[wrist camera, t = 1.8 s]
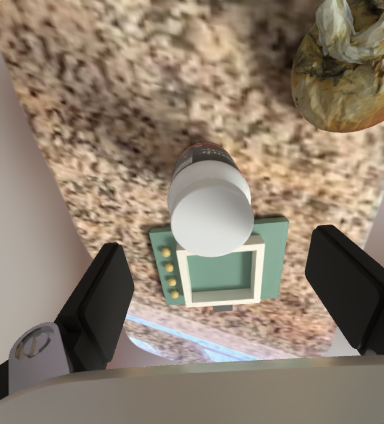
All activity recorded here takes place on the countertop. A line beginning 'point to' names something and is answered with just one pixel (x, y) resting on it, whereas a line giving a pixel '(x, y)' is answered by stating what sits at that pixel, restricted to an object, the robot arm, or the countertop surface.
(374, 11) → the onion
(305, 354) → the countertop surface
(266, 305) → the countertop surface
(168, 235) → the board
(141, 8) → the countertop surface
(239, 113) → the countertop surface
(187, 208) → the pill bottle
